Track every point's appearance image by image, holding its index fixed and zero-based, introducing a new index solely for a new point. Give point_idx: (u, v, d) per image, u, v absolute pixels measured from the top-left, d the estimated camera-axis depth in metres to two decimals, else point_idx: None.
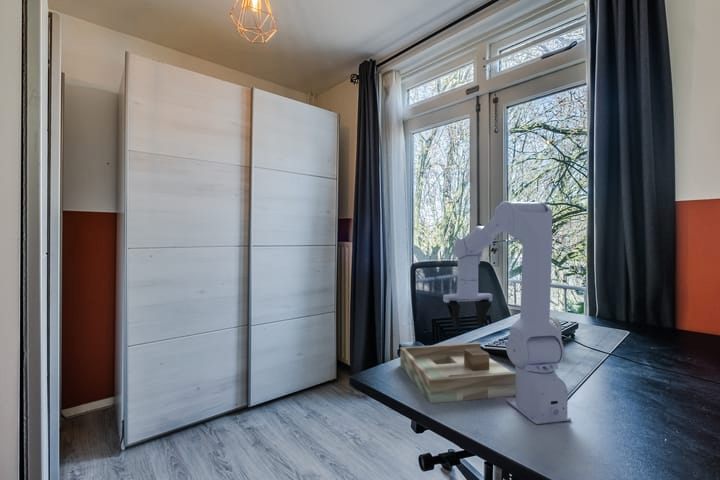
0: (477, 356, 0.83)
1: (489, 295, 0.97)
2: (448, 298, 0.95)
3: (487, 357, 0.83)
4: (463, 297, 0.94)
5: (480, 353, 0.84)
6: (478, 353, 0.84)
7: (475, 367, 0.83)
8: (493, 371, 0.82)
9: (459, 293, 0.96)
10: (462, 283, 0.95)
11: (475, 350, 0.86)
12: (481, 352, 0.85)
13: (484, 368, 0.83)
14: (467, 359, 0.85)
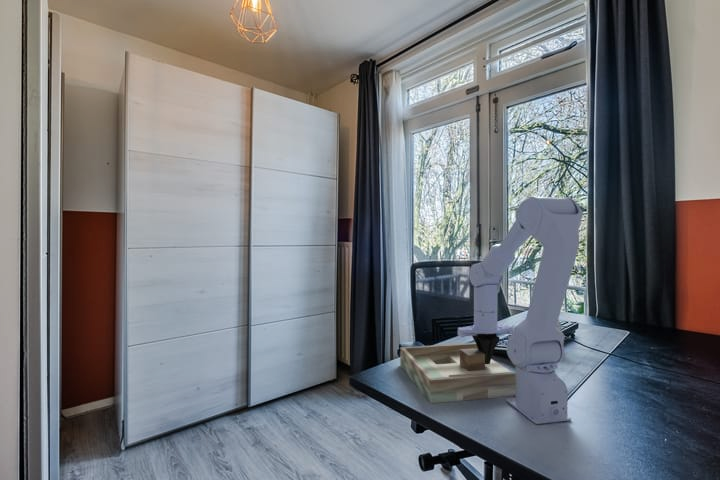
0: (472, 357, 0.83)
1: (509, 328, 0.86)
2: (463, 332, 0.84)
3: (483, 357, 0.83)
4: (481, 331, 0.83)
5: (475, 353, 0.84)
6: (473, 353, 0.84)
7: (471, 367, 0.83)
8: (493, 371, 0.82)
9: (476, 326, 0.85)
10: (479, 315, 0.84)
11: (470, 351, 0.86)
12: (477, 352, 0.85)
13: (480, 368, 0.83)
14: (463, 359, 0.85)
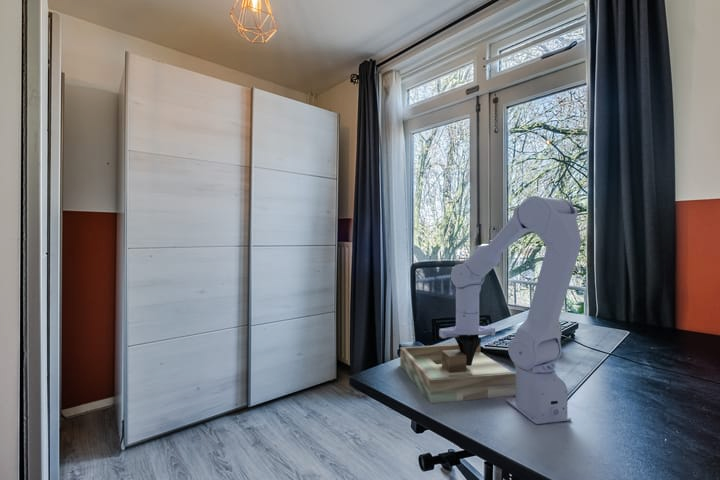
0: (453, 358, 0.82)
1: (492, 329, 0.85)
2: (445, 333, 0.83)
3: (464, 359, 0.82)
4: (462, 332, 0.82)
5: (457, 355, 0.83)
6: (455, 354, 0.83)
7: (452, 368, 0.82)
8: (493, 371, 0.82)
9: (457, 327, 0.84)
10: (461, 316, 0.83)
11: (452, 352, 0.85)
12: (458, 353, 0.84)
13: (461, 370, 0.82)
14: (444, 360, 0.84)
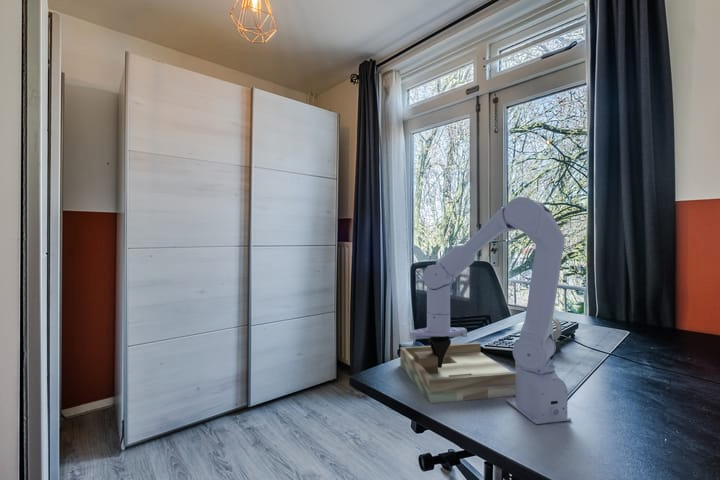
0: (425, 360, 0.81)
1: (463, 330, 0.84)
2: (415, 335, 0.81)
3: (435, 360, 0.81)
4: (432, 334, 0.81)
5: (428, 356, 0.82)
6: (426, 356, 0.82)
7: None
8: (493, 371, 0.82)
9: (428, 329, 0.83)
10: (431, 317, 0.82)
11: (424, 354, 0.84)
12: (430, 355, 0.83)
13: (432, 372, 0.81)
14: None
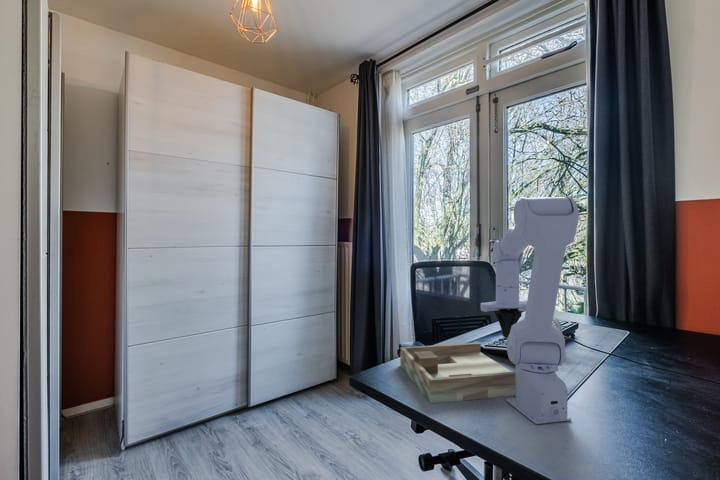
0: (425, 360, 0.81)
1: None
2: (487, 307, 0.86)
3: (435, 360, 0.81)
4: (503, 306, 0.85)
5: (428, 356, 0.82)
6: (426, 356, 0.82)
7: None
8: (493, 371, 0.82)
9: (498, 301, 0.87)
10: (502, 290, 0.86)
11: (424, 354, 0.84)
12: (430, 355, 0.83)
13: (432, 372, 0.81)
14: None
